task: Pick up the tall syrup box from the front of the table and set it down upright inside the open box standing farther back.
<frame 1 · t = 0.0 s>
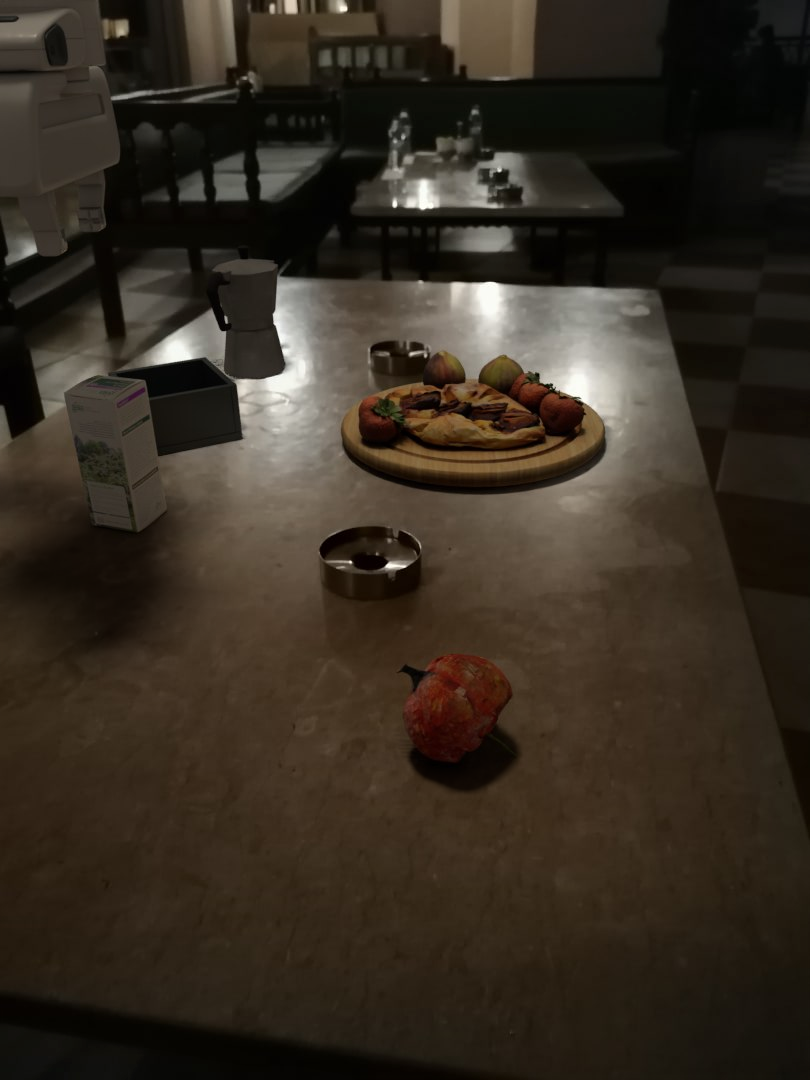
hand: (74, 242, 71), 29 cm above the table, tool pointing down, fingers open, 8 cm apart
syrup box: (130, 520, 94), on the table
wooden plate: (471, 438, 111), on the table
open box: (178, 431, 114), on the table
red rounded piece: (460, 748, 63), on the table
coffeepot: (251, 372, 135), on the table
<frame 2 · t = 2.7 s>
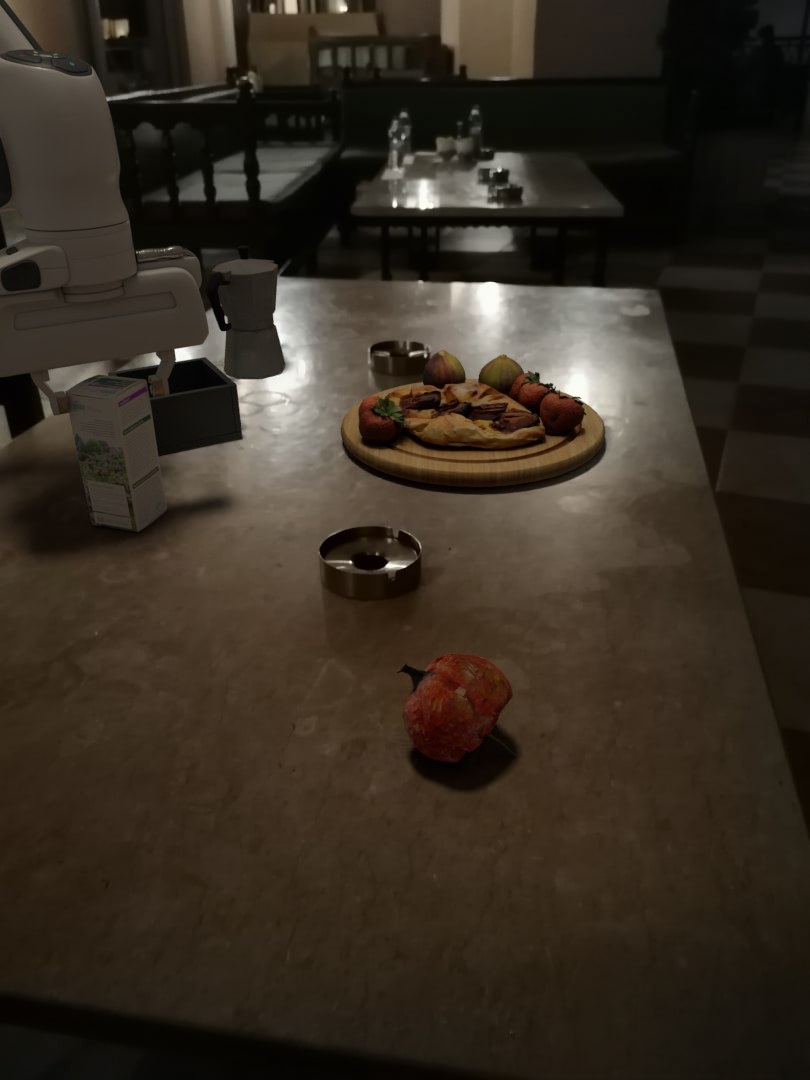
hand: (111, 403, 87), 13 cm above the table, tool pointing down, fingers open, 8 cm apart
nothing on the table moved.
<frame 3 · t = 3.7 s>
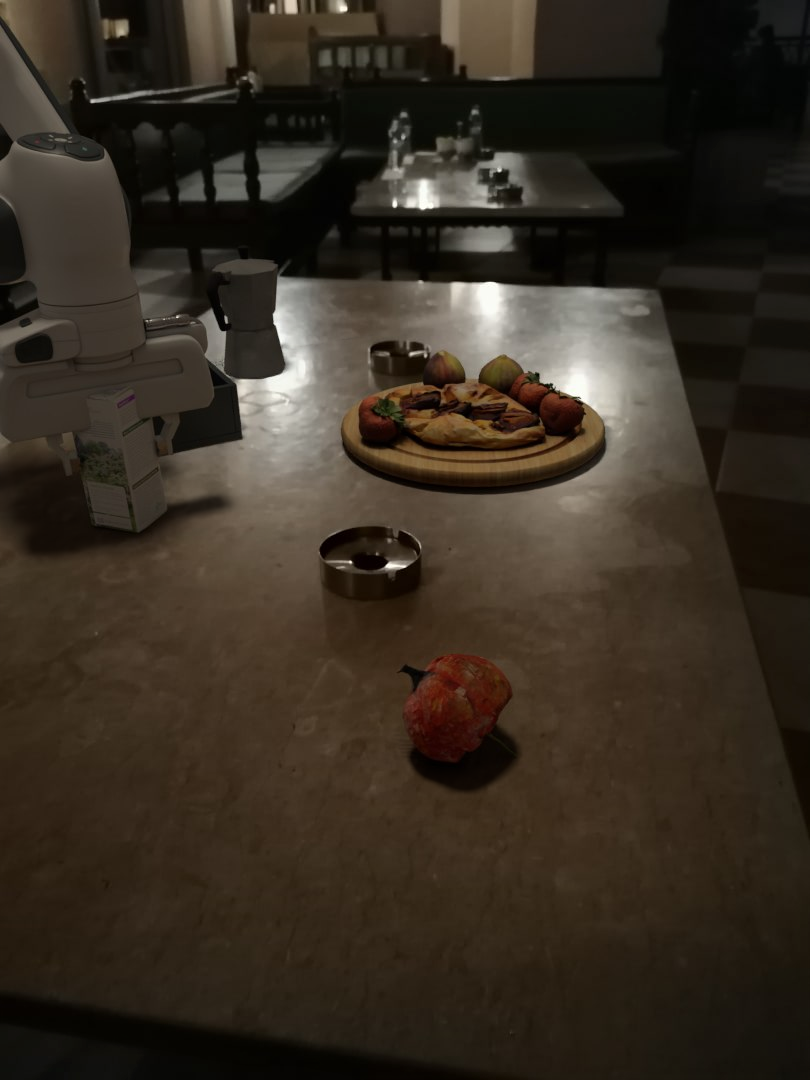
hand: (119, 463, 90), 6 cm above the table, tool pointing down, fingers closed on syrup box, 7 cm apart
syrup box: (130, 520, 94), on the table, touching gripper
everything else where it was.
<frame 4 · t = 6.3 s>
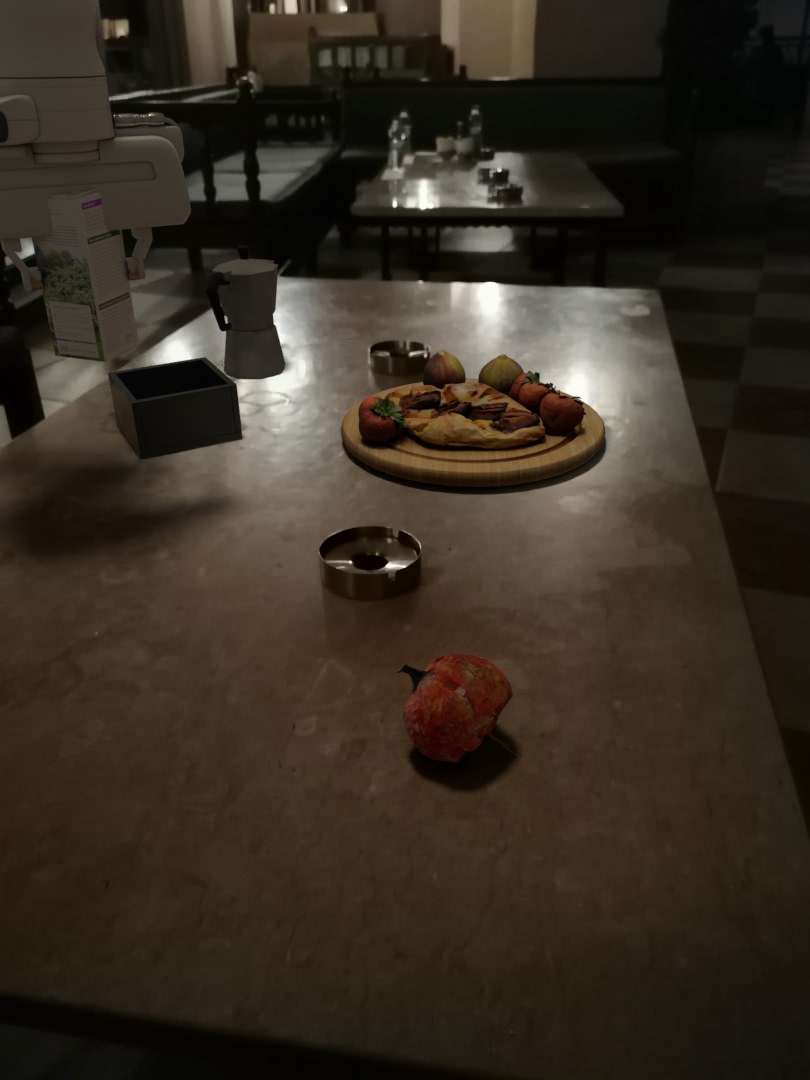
hand: (85, 284, 82), 24 cm above the table, tool pointing down, fingers closed on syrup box, 7 cm apart
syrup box: (98, 354, 85), point 17 cm above the table, touching gripper
everything else where it was.
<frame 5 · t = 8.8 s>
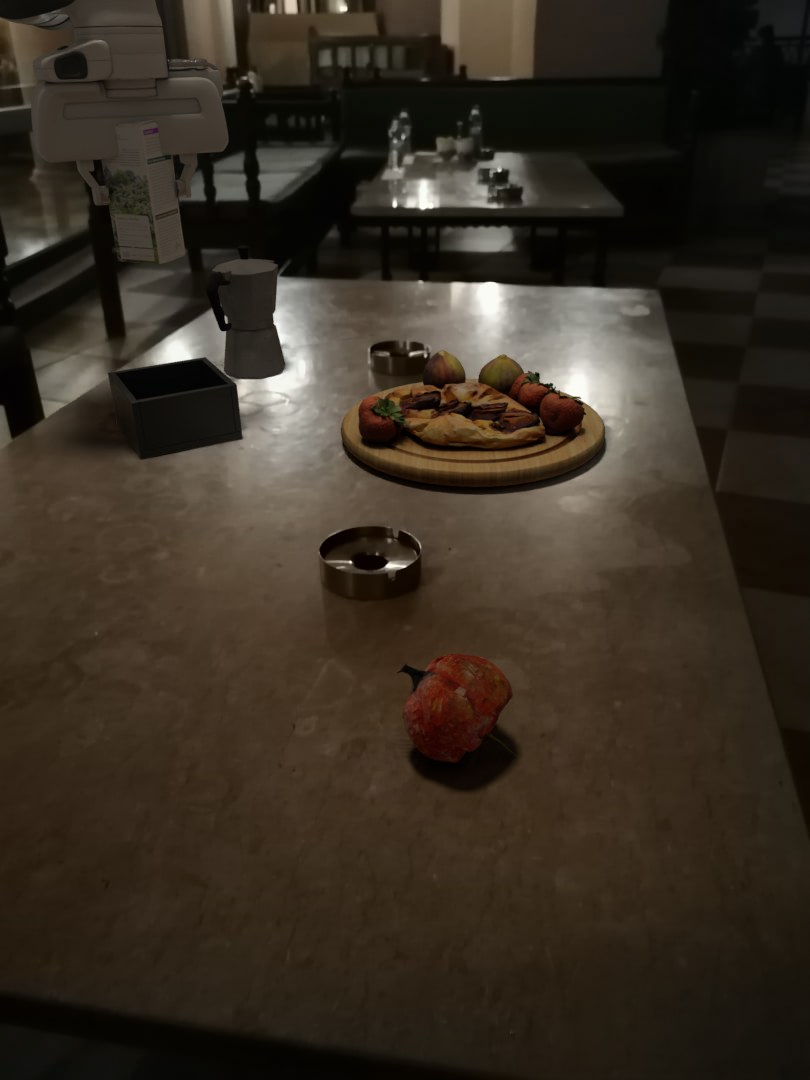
hand: (143, 201, 100), 28 cm above the table, tool pointing down, fingers closed on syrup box, 7 cm apart
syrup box: (152, 260, 104), point 21 cm above the table, touching gripper
everything else where it was.
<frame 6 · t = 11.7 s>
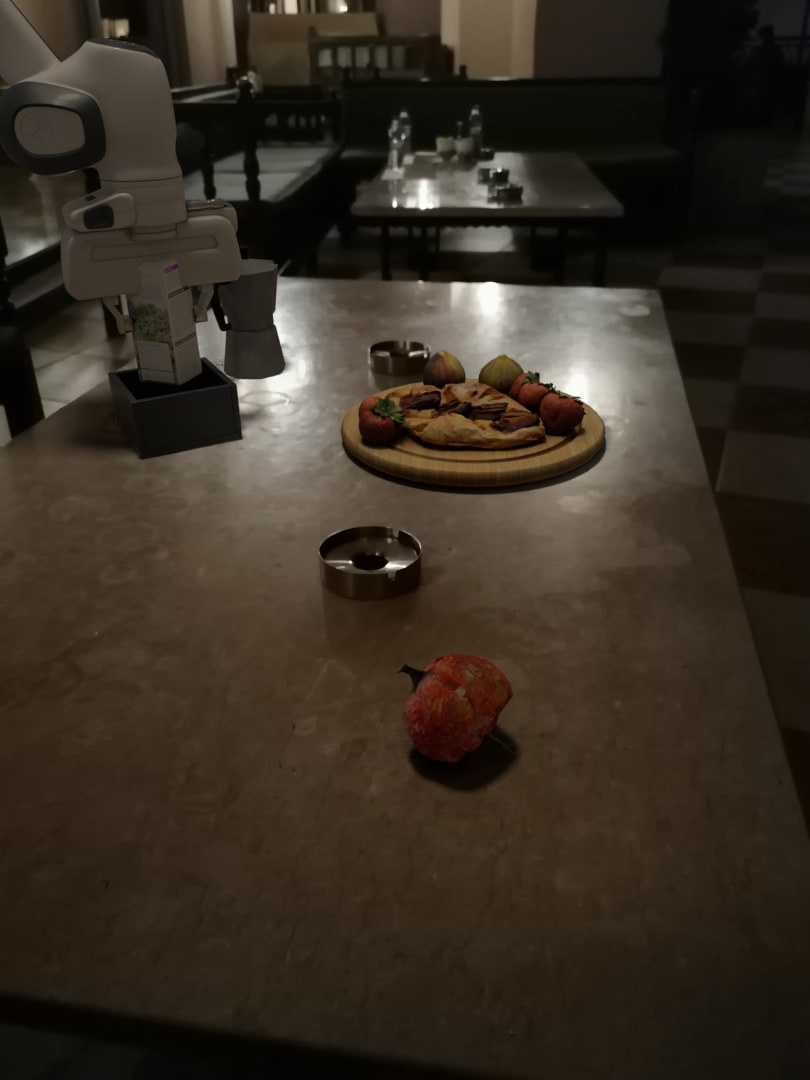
hand: (163, 326, 108), 13 cm above the table, tool pointing down, fingers closed on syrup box, 7 cm apart
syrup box: (171, 379, 111), point 7 cm above the table, touching gripper
everything else where it was.
when the fingers open (7 cm above the table, at t = 13.8 s): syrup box stays where it is, resting on open box.
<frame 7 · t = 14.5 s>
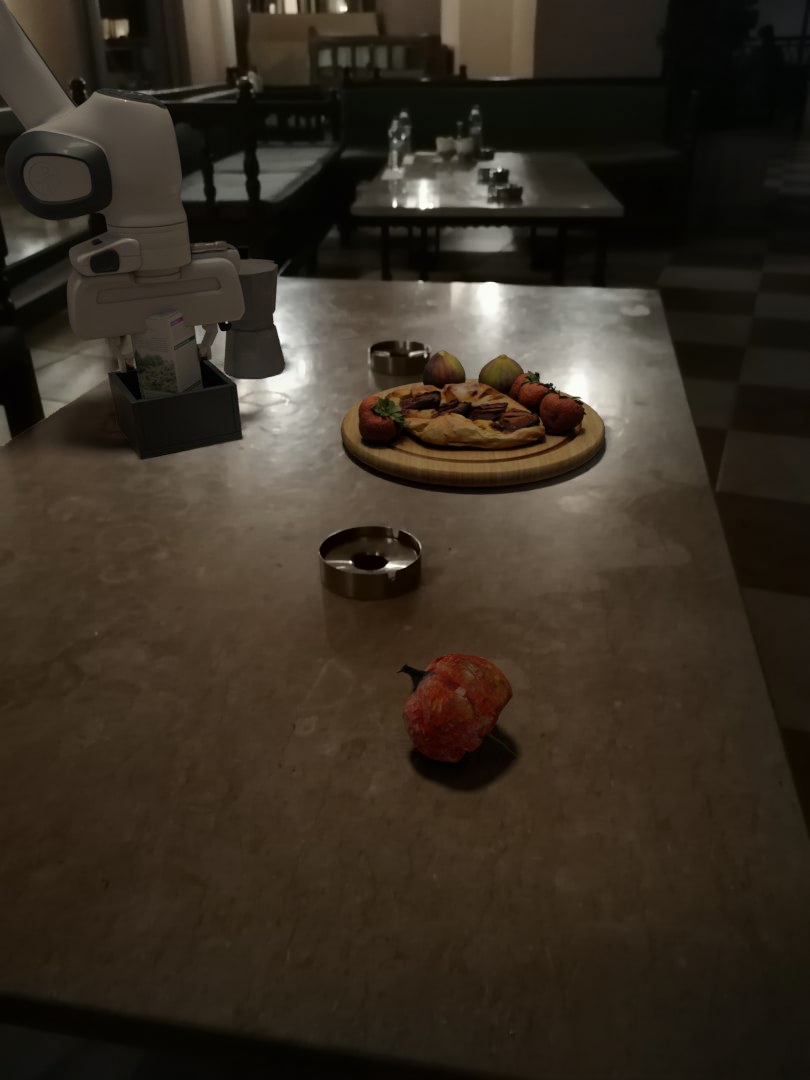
hand: (166, 365, 110), 9 cm above the table, tool pointing down, fingers open, 8 cm apart
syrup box: (177, 425, 114), point 1 cm above the table, touching open box, gripper
everything else where it was.
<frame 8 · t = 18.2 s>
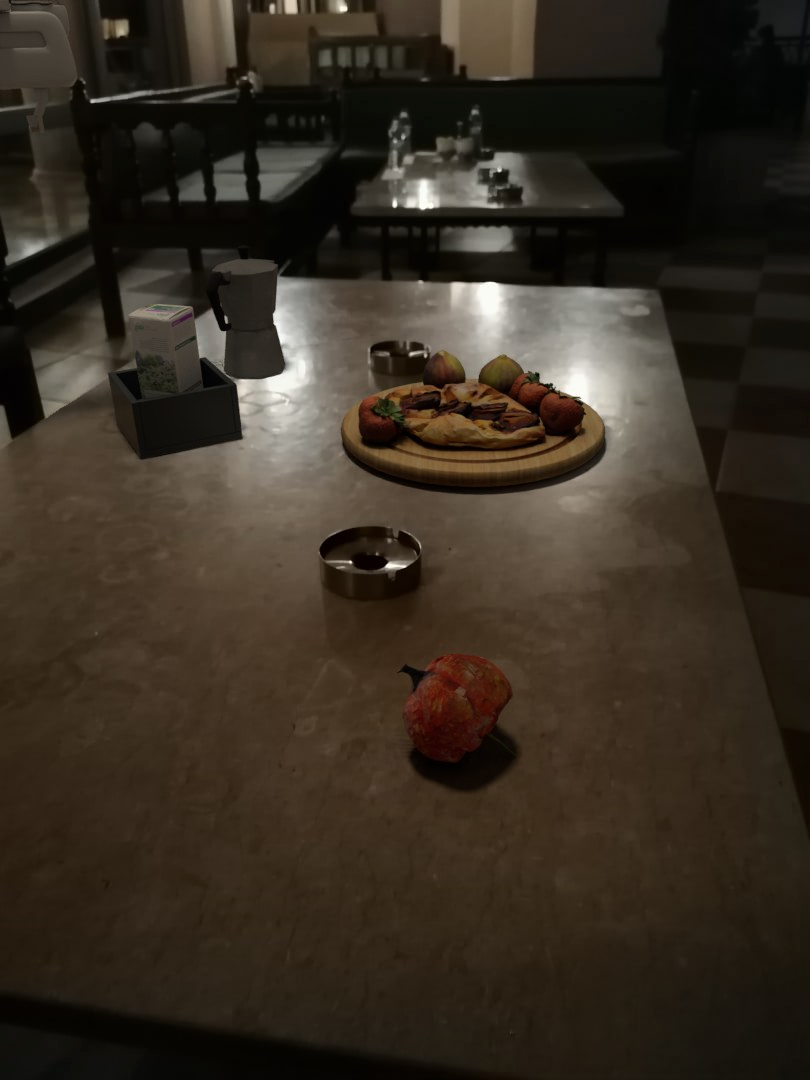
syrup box: (177, 425, 114), point 1 cm above the table, touching open box
everything else where it was.
at the end: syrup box inside the target area in the open box (0.1 cm from its centre), point 0.8 cm above the open box's base; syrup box tilted 0°; the gripper is holding nothing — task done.
